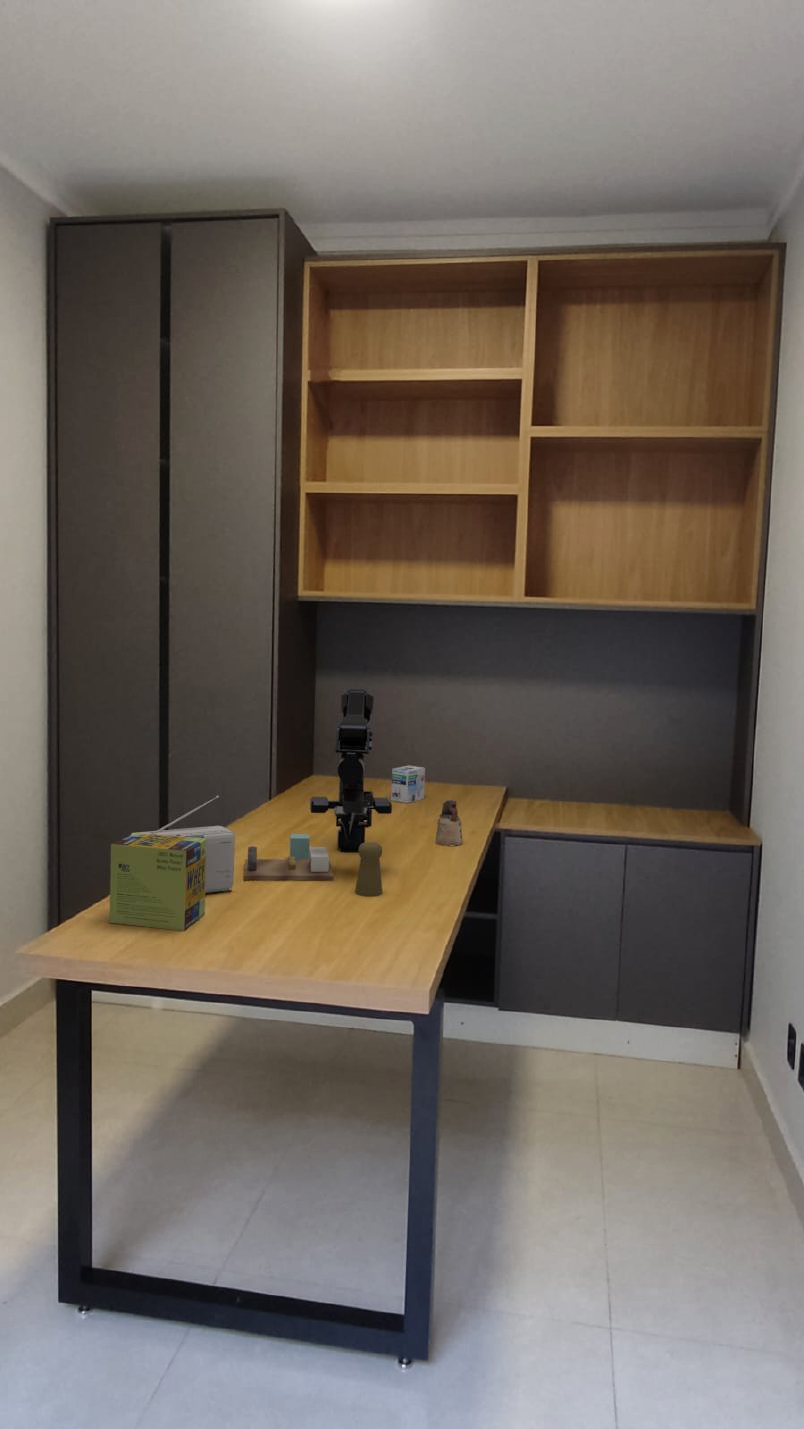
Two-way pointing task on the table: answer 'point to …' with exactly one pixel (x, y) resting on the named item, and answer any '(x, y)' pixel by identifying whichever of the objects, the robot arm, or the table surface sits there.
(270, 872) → the board
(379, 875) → the olive pepper mill
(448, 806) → the figurine
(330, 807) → the robot arm
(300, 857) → the block
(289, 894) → the table surface
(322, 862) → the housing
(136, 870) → the protein box
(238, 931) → the table surface
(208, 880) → the stereo radio cassette player
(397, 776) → the light bulb box
